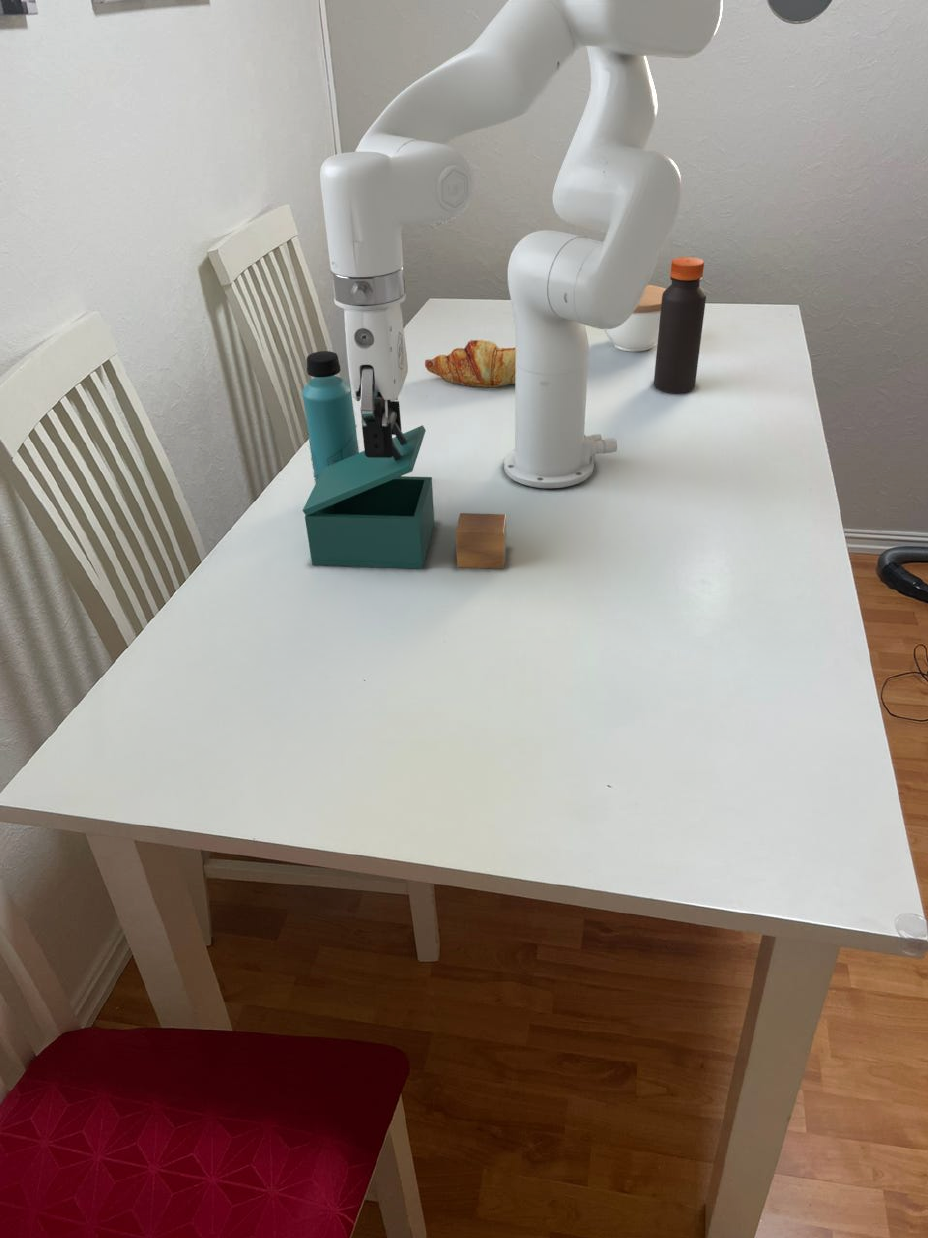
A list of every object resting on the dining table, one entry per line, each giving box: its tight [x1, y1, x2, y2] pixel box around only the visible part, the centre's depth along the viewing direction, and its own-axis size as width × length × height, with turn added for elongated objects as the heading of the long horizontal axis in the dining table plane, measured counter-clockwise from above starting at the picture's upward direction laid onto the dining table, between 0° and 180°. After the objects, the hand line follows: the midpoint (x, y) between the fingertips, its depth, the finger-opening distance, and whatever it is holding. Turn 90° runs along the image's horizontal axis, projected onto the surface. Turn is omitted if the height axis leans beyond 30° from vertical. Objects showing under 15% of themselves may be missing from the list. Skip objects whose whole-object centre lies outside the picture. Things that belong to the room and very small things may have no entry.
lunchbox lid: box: [302, 408, 427, 516], centre depth 107 cm, size 14×11×5 cm
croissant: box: [424, 339, 516, 388], centre depth 155 cm, size 21×10×8 cm, turn 83°
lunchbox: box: [304, 475, 435, 570], centre depth 113 cm, size 14×11×7 cm
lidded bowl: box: [603, 284, 667, 353], centre depth 164 cm, size 13×13×11 cm
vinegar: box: [653, 256, 707, 394], centre depth 146 cm, size 7×7×20 cm
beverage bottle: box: [301, 350, 360, 483], centre depth 118 cm, size 6×7×20 cm
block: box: [455, 512, 507, 570], centre depth 110 cm, size 6×4×5 cm
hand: (383, 443), depth 106 cm, fingers closed on lunchbox lid, 5 cm apart
